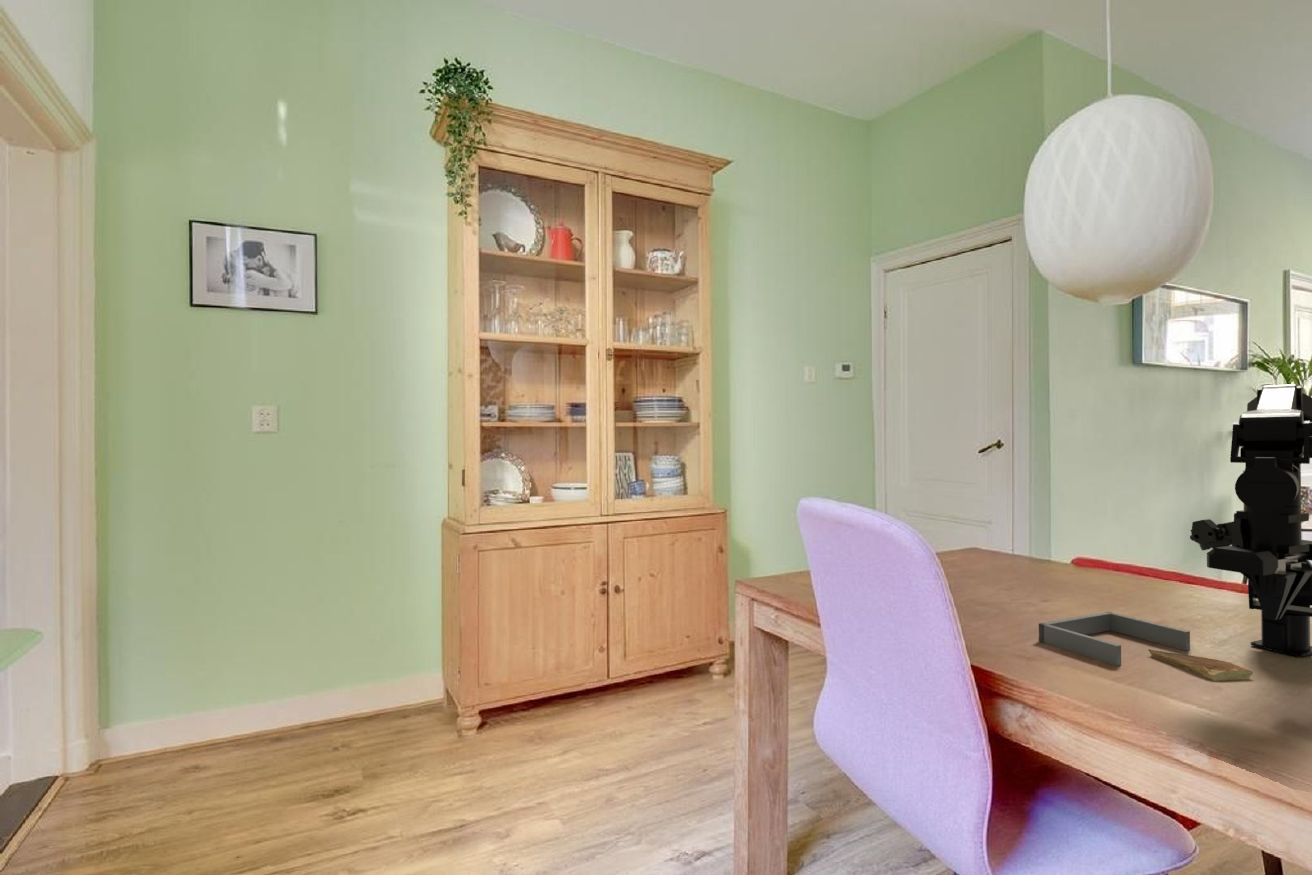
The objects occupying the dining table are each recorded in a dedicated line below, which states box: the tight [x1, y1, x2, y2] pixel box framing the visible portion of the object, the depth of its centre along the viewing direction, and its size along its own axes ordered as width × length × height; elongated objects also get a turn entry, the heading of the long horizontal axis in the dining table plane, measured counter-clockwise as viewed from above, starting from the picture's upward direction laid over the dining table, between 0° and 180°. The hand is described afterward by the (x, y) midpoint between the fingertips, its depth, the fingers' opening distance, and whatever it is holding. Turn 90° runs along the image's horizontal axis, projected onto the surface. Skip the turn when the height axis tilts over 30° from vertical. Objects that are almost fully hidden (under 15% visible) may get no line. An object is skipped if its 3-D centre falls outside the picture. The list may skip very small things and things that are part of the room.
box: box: [1038, 611, 1191, 666], centre depth 108 cm, size 18×13×3 cm
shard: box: [1147, 648, 1254, 682], centre depth 98 cm, size 11×8×2 cm
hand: (1272, 618), depth 88 cm, fingers closed
